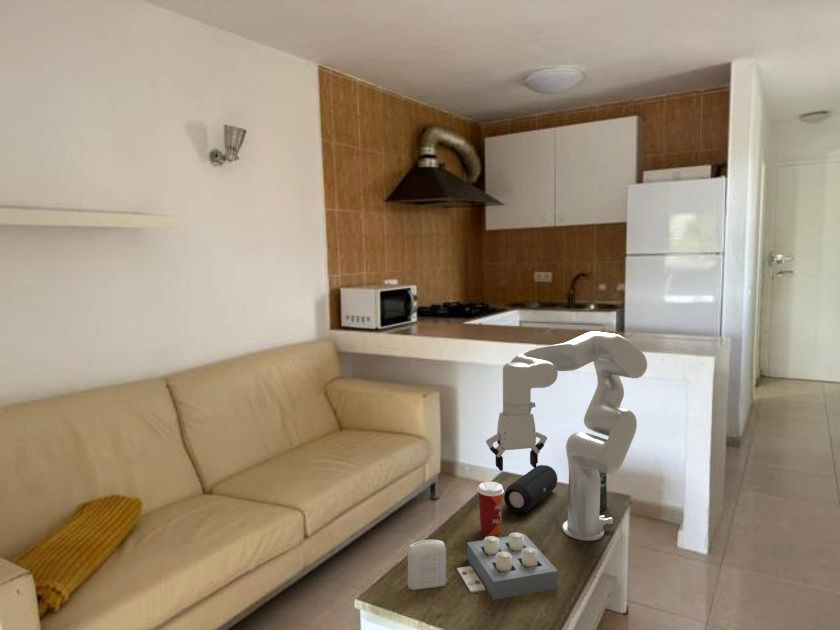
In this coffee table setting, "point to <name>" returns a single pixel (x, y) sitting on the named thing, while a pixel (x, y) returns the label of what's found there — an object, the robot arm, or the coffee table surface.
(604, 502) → the coffee jar
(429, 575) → the photo printer
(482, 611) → the coffee table surface
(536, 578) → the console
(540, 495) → the portable speaker
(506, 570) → the button
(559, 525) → the coffee table surface
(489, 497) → the coffee cup
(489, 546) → the button
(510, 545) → the button
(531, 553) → the button
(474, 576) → the card
